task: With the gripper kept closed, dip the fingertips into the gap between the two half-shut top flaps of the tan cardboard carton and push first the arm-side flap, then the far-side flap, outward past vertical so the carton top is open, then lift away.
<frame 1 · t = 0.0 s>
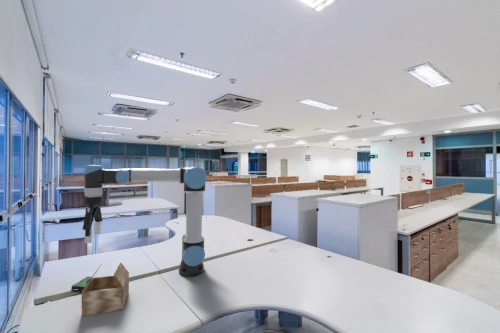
hand: (93, 238, 119), 28 cm above the table, fingers open, 13 cm apart
carton: (107, 303, 112), on the table
far side flap: (92, 277, 110), point 13 cm above the table, hinge at 33.0°
disk drive: (91, 287, 127), on the table
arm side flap: (121, 273, 113), point 13 cm above the table, hinge at 33.0°
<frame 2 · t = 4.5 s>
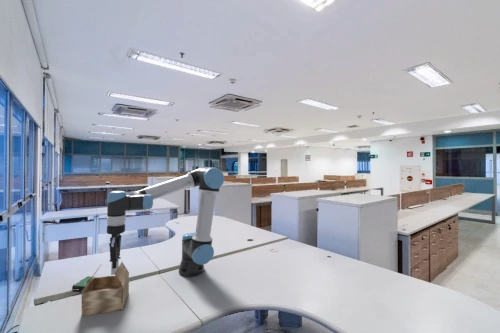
hand: (114, 273, 113), 14 cm above the table, fingers closed
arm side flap: (122, 273, 113), point 13 cm above the table, hinge at 28.0°, touching gripper
everything else where it was.
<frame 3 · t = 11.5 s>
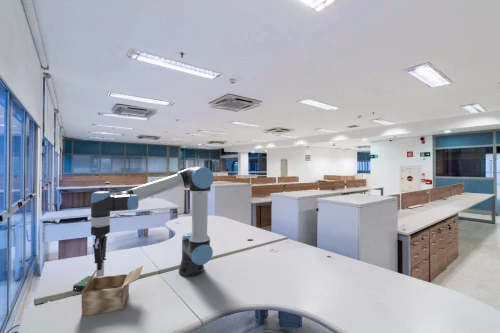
hand: (100, 275, 111), 14 cm above the table, fingers closed
far side flap: (92, 276, 110), point 13 cm above the table, hinge at 30.1°, touching gripper
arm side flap: (133, 275, 115), point 12 cm above the table, hinge at -65.0°
everything else where it was.
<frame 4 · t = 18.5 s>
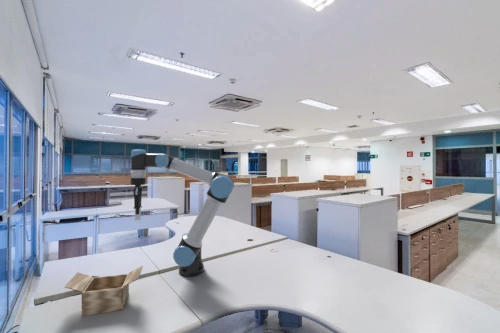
hand: (137, 219, 133), 34 cm above the table, fingers closed
far side flap: (79, 281, 108), point 12 cm above the table, hinge at -65.6°
at the end: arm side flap at -65° (first picture: +33°); far side flap at -66° (first picture: +33°) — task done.
